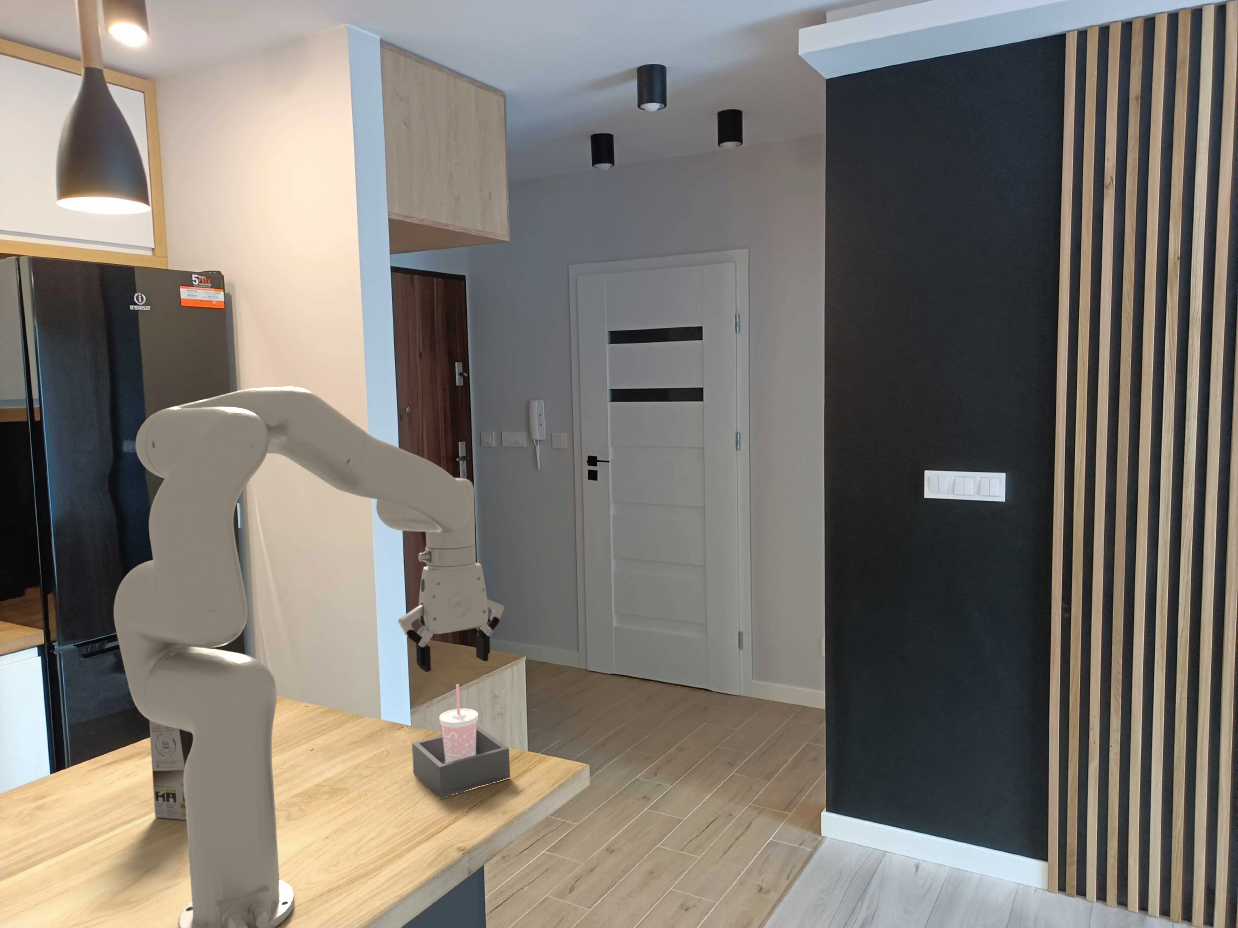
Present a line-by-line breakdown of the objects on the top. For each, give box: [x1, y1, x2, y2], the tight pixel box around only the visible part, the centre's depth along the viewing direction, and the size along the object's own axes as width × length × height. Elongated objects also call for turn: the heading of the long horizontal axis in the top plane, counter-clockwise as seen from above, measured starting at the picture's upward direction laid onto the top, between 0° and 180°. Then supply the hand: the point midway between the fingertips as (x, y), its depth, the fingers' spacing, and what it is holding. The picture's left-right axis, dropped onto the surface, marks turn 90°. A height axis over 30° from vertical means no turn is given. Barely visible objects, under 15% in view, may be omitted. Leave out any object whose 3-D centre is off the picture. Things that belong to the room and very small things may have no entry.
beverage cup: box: [438, 683, 479, 763], centre depth 141 cm, size 6×6×14 cm
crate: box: [411, 726, 511, 799], centre depth 141 cm, size 12×12×5 cm
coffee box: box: [148, 719, 193, 821], centre depth 133 cm, size 9×6×16 cm
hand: (454, 664), depth 140 cm, fingers open, 9 cm apart
